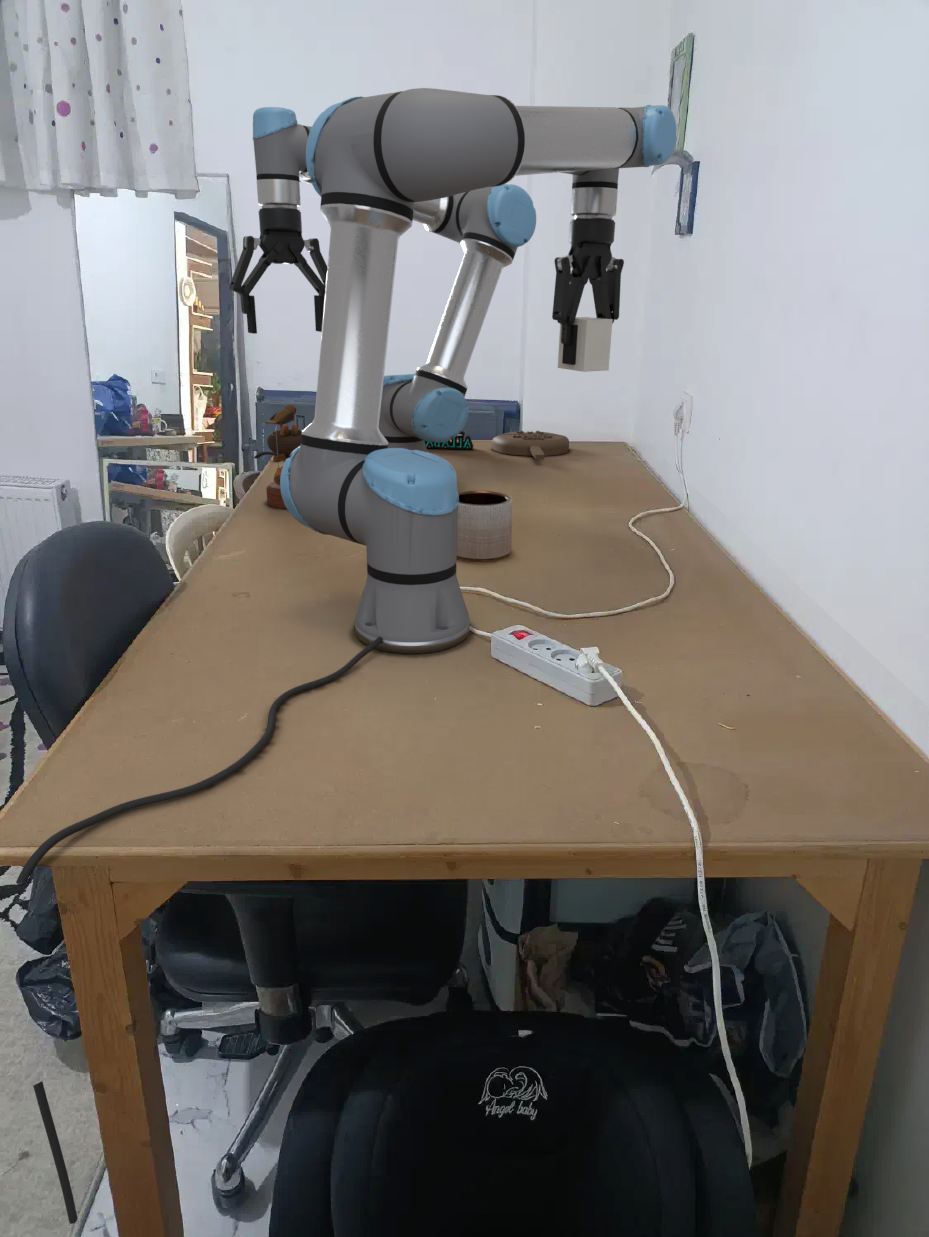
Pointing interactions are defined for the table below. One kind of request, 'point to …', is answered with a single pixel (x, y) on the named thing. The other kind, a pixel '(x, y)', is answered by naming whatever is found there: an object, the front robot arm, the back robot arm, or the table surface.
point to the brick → (590, 345)
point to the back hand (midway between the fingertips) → (287, 332)
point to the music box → (281, 449)
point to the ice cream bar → (531, 444)
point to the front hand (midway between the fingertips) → (583, 363)
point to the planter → (484, 525)
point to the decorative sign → (453, 443)
